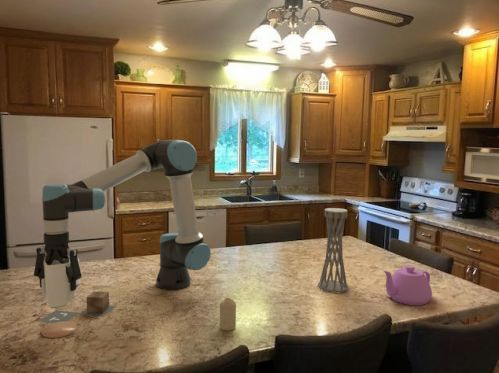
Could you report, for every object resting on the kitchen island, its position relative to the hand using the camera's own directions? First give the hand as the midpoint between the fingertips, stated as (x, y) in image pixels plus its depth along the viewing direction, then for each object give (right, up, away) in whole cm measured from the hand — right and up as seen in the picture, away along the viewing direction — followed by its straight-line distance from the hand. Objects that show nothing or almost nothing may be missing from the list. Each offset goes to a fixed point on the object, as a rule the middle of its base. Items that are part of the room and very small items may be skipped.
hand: (58, 298), depth 137 cm
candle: (+56, -12, +6) cm, 58 cm away
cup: (0, -3, 0) cm, 3 cm away
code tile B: (+7, -9, +18) cm, 21 cm away
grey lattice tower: (+101, -8, +47) cm, 111 cm away
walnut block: (+7, -9, +18) cm, 21 cm away
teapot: (+129, -10, +35) cm, 134 cm away
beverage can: (-15, -6, +44) cm, 47 cm away
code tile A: (-5, -10, +11) cm, 16 cm away
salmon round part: (0, -11, +1) cm, 11 cm away
